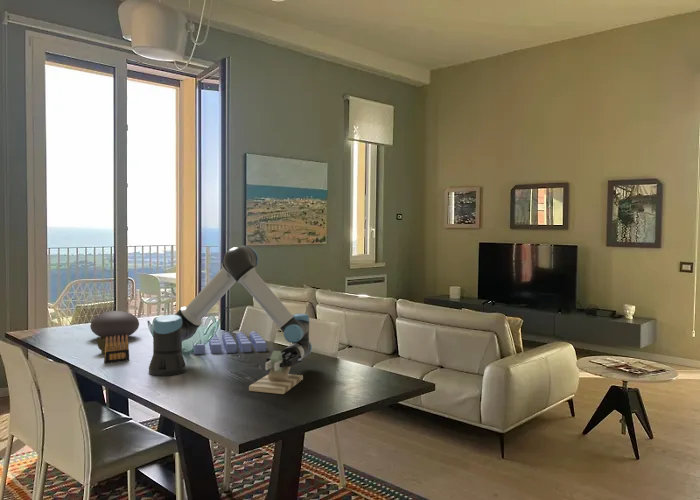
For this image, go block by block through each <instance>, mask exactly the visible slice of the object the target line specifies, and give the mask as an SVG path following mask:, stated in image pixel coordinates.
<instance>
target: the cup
mask: <svg viewBox="0 0 700 500" xmlns="http://www.w3.org/2000/svg"><path fill="white" fill-rule="evenodd" d="M106 337H107V336H106ZM106 337H105V336H103V337H102V336H101V337H99V336H97V337H96V343H97V348H98V349H99V351H100V353H101V354H102V353H105V341H106ZM111 337H112V344H113V340H114V339H113V338H114V337H113V336H111ZM109 340H110V337H108V345H109Z"/></svg>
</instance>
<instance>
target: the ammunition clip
mask: <svg viewBox="0 0 700 500" xmlns="http://www.w3.org/2000/svg"><path fill="white" fill-rule="evenodd" d="M127 360H128V361H130V350H129V336H127V334H126V337H124V336H123V335H122V338H120V336H119V335H118V339H116V336H114V339H113V344H112V337H111V336H110V340H109V345H108V337H106V341H105V354H104V359H103V362H104V363H105V364H111V362H112V363H119V362H118V361H120V362H126V361H127Z"/></svg>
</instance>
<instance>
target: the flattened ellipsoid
mask: <svg viewBox="0 0 700 500" xmlns="http://www.w3.org/2000/svg"><path fill="white" fill-rule="evenodd" d="M89 326H90V330H91V332H92V333H93V334H94V335H96V336H97V337H101V336H102V337H103V336H105V337H106V336H107V337H110V336H113V337H114V336H116V340H117V339H118V335H119V336H120V339H121V338H122V335H123V336H124V338H126V334H127V336H128V337H129V336H131V335H133V334H134V333H135V332H137V330H138V329H139V326H140V320H139V318H137V316H135V315H134V314H132V313H131V312H128V311H123V310H111V311H105V312H102V313H100V314H98V315H97V316H95V317H94V318H92V320H91V322H90V325H89ZM113 340H114V338H113Z"/></svg>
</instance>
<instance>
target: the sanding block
mask: <svg viewBox="0 0 700 500" xmlns="http://www.w3.org/2000/svg"><path fill="white" fill-rule="evenodd" d="M281 353H282V351H281V350H273V351H272V353H271V355H270V356H271V358H270V359H271V362H272V365H273V367H272V368H270V369H269V370H270V371H269V373H268V374H269V375H268V374H267V375H268V377H269V379H271V380H282V381H286V379H287V376H288V374H290V371H291V368H292V366H291V367H288V365H287V366H286V367H282V368H280V369H278V370H277V371H274V364H275V363H277V362H278V361H280V360H283V357H282V354H281Z"/></svg>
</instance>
